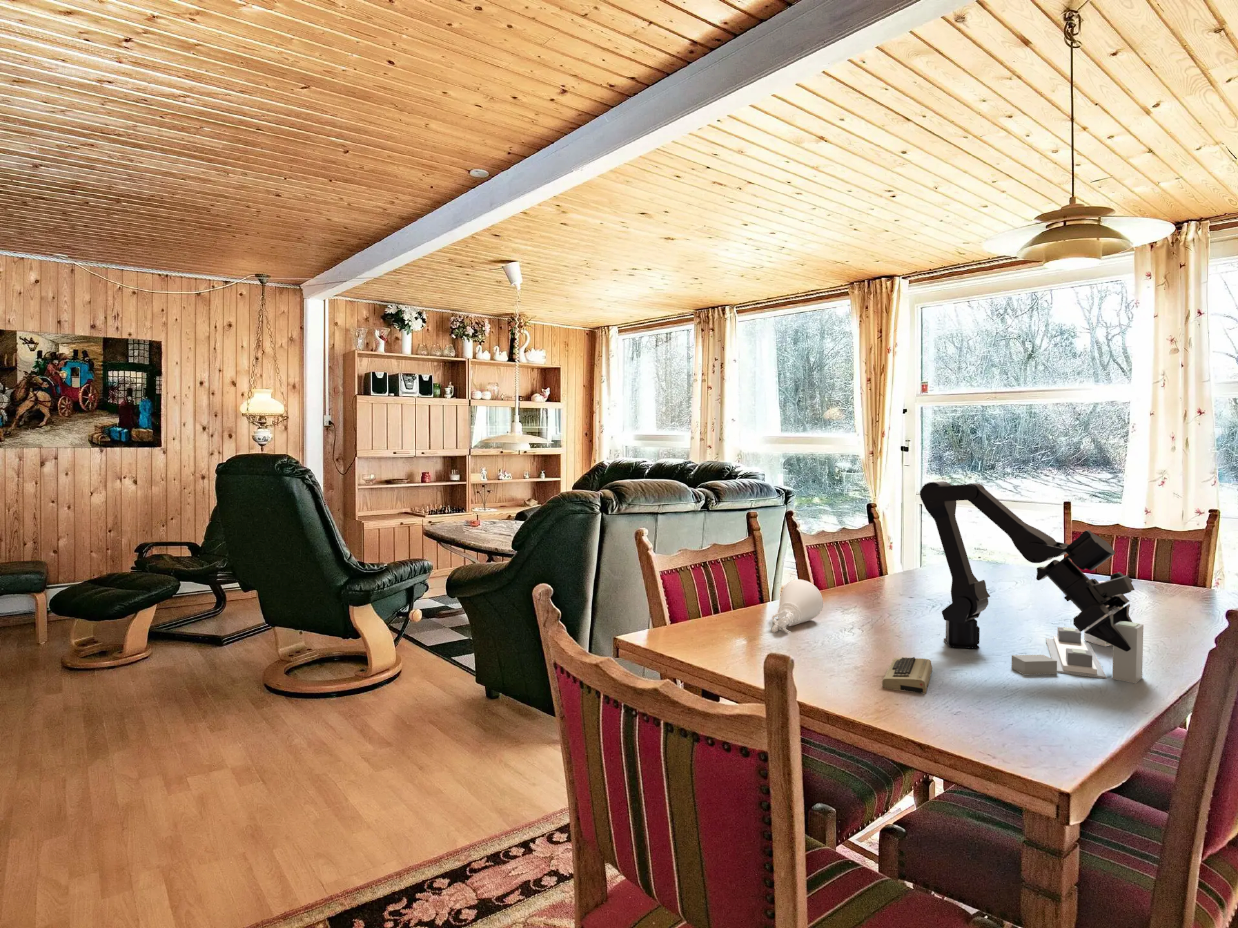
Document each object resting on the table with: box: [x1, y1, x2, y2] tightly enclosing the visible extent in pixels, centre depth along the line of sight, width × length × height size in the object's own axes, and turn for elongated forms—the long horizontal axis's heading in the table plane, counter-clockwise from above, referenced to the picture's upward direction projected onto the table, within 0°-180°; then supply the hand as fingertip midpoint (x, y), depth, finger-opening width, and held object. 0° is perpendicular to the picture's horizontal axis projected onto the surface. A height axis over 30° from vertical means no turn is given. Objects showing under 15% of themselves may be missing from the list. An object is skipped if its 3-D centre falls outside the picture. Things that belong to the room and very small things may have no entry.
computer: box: [881, 656, 933, 695], centre depth 150 cm, size 16×8×3 cm, turn 153°
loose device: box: [1011, 654, 1058, 676], centre depth 155 cm, size 7×4×3 cm, turn 94°
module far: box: [1056, 626, 1082, 644], centre depth 174 cm, size 4×4×3 cm
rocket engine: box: [771, 578, 824, 634], centre depth 192 cm, size 12×12×18 cm
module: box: [1111, 621, 1144, 684], centre depth 150 cm, size 4×5×11 cm
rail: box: [1045, 635, 1107, 679], centre depth 165 cm, size 9×28×1 cm, turn 153°
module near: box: [1066, 648, 1092, 668], centre depth 156 cm, size 4×4×3 cm
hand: (1135, 645), depth 150 cm, fingers open, 9 cm apart
